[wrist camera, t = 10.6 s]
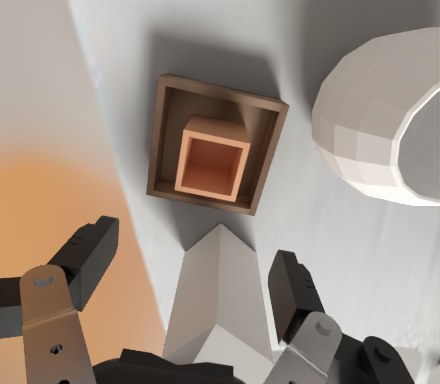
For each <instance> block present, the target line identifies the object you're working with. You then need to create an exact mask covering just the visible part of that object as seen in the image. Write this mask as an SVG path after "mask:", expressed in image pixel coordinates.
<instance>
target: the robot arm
mask: <svg viewBox="0 0 440 384" xmlns="http://www.w3.org/2000/svg"><path fill="white" fill-rule="evenodd" d="M118 233H119V219H118V218H113V217H108V216H101V217H100V218H99V219H98V221H97V222H96V223H95V224H89V223H88V224H86V225H85V226H83V227H81V228H79V229H78V230H77V231H76V232H75V233H74V234H73V236H72V237H71V238H70V239H69V240H68V241H67V243H65V244H64V245H63V247H62V248H61V249H60V250H59V251H58V252H57V253H56V254H55V255H54V257H53V258H52V259H51V260H50V261H49V262H48V263H47V264H46V265H41V266H37V267H35V268H33V269H30V270H29V271H27V272H26V273H25V274H24V275H23V276H22V277H14V278H0V339H1V338H9V337H16V336H23V342H24V354H25V366H26V378H27V384H246V383H245V382H243V381H242V380H240V379H239V378H237V377H235V376H234V368H233V366H230V365H224V364H217V363H211V362H201V363H192V364H184V365H177V364H174V363H172V362H170V361H168V360H165V359H163V358H161V357H159V356H156V355H154V354H152V353H148V352H142V351H136V350H129V349H123V351H122V354H121V357H120V358H115V359H111V360H107V361H104V362H101V363H99V364H97V365H95V366H93V367H92V365H91V361H90V358H89V354H88V350H87V346H86V343H85V339H84V335H83V332H82V328H81V324H80V321H79V317H78V313H77V311H80V312H82V311H83V309H84V307H85V305H86V304H87V302H88V300H89V299H90V297H91V295H92V293H93V292H94V290H95V288H96V287H97V285H98V283H99V282H100V280H101V278H102V276H103V275H104V273H105V271H106V269H107V268H108V266H109V265H110V263H111V261H112V259H113V258H114V256H115V254H116V251H117V247H118ZM268 288H269V293H270V299H271V305H272V310H273V316H274V322H275V327H276V333H277V339H278V344H279V346H285V347H286V349H285V350H284V352H283V354H282V355H281V356H280V358H279V360H278V361H277V363H276V364H275V366H274V368H273V369H272V371H271V372H270V374H269V375H268V377H267V378H266V380H265V382H264V383H263V384H415V383H414V381H413V379H412V378H411V376H410V374H409V372H408V370H407V368H406V366H405V364H404V362H403V360H402V359H401V357H400V355H399V354H398V352H397V351H396V350H395V349H394V348H393V347H392V346H391V345H390V344H389V343H387V342H386V341H384V340H382V339H380V338H378V337H374V336H369V337H367V338H365V340H364V341H363V342H361V341H358V340H356V339H354V338H352V337H350V336H348V335H345V334H344V333H342V331H341V329H340V327H339V325H338V324H337V323H336V321H335V320H334V319H332V318H331V317H330V316H328V315H326V314H325V311H324V308H323V306H322V303H321V301H320V298H319V295H318V293H317V290H316V289H315V285H314V282H313V280H312V277H311V275H310V272H309V271H308V270H307V269H306V267H305V266H304V265H303V264H299V263H298V262H297V259H296V256H295V253H294V252H290V251H284V250H278V251H277V253H276V256H275V258H274V261H273V264H272V266H271V269H270V272H269V275H268Z"/></svg>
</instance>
